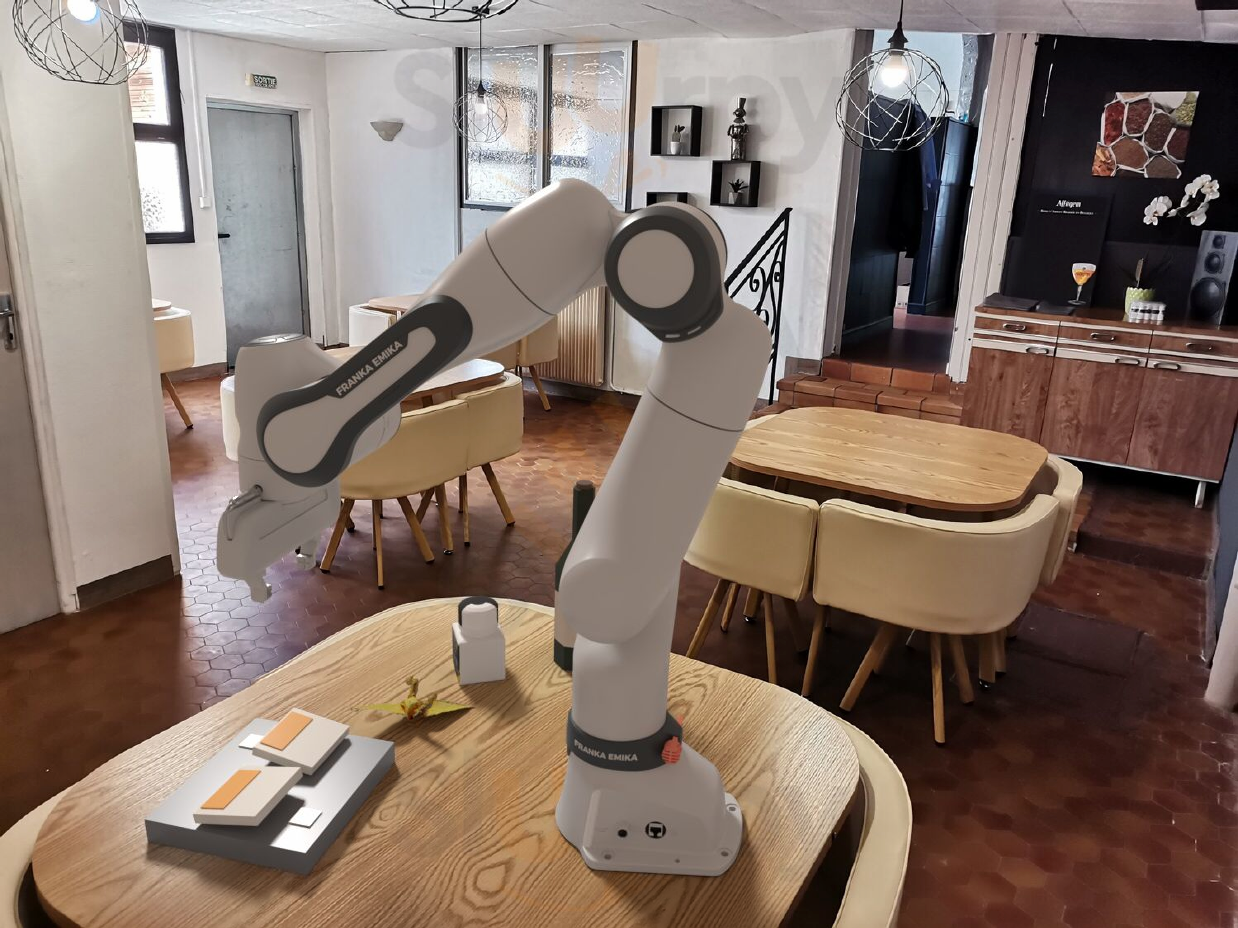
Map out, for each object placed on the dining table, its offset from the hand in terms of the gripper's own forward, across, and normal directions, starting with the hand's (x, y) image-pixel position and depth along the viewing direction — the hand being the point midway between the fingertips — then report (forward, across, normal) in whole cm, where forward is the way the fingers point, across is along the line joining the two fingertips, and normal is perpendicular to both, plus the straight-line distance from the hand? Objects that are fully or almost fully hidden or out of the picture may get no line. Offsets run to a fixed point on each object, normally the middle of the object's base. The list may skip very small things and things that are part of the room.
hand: (285, 583), depth 108 cm
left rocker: (+21, -12, -2) cm, 24 cm away
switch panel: (+26, -6, -2) cm, 27 cm away
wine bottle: (+25, +37, -28) cm, 53 cm away
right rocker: (+21, 0, -2) cm, 21 cm away
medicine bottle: (+26, +29, -14) cm, 41 cm away
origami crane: (+26, +14, -10) cm, 31 cm away
